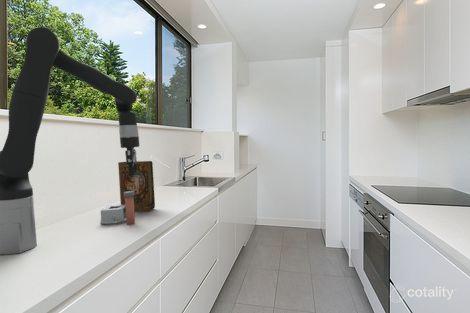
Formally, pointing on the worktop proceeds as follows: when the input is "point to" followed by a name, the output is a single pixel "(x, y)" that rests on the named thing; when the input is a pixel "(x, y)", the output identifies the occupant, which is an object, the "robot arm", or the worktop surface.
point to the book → (138, 185)
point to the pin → (129, 207)
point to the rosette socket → (113, 214)
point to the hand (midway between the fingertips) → (132, 173)
